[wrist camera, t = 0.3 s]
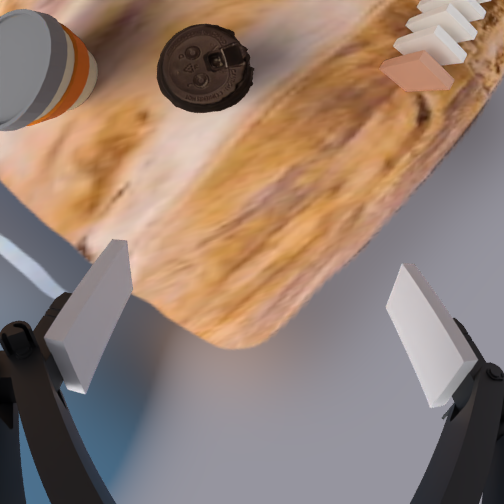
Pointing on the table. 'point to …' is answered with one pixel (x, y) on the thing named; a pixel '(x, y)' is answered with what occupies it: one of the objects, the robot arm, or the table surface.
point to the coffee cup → (204, 69)
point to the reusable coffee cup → (41, 69)
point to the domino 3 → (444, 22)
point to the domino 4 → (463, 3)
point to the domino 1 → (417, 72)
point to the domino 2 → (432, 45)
